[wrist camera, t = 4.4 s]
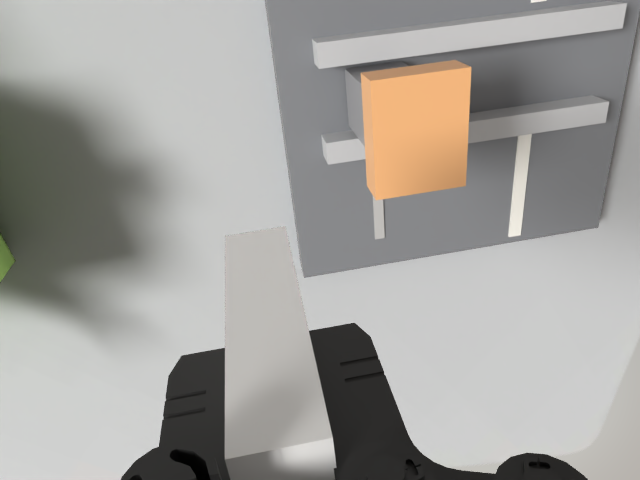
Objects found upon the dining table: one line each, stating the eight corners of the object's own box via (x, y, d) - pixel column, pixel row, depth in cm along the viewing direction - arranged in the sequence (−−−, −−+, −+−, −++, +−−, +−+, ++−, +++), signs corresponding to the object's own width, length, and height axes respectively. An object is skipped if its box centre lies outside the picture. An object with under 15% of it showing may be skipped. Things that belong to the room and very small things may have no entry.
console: (301, 265, 34) (307, 291, 31) (244, -147, 23) (247, -160, 21) (584, 217, 36) (612, 237, 33) (655, -185, 25) (705, -201, 22)
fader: (341, 144, 28) (375, 200, 22) (333, 49, 26) (370, 80, 19) (411, 134, 29) (465, 186, 22) (409, 39, 26) (471, 66, 20)
